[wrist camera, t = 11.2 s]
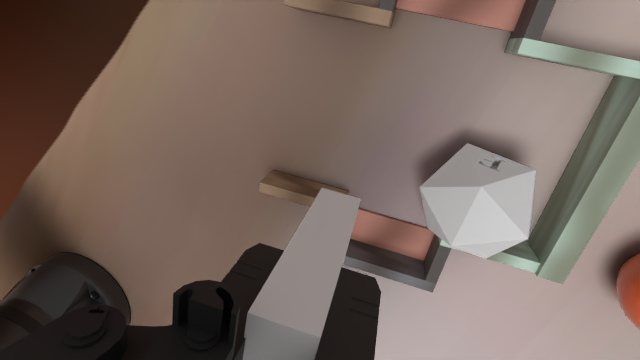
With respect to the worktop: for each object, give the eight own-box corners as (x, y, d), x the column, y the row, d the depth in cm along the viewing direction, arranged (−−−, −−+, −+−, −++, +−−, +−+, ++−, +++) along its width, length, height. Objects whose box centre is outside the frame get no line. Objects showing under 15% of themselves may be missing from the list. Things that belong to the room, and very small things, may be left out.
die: (541, 192, 30) (577, 156, 22) (496, 278, 30) (515, 276, 21) (452, 156, 34) (453, 112, 25) (410, 232, 33) (396, 213, 25)
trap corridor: (265, 219, 38) (250, 238, 34) (310, -76, 27) (295, -95, 23) (521, 297, 34) (535, 328, 30) (695, -10, 23) (749, -20, 19)
